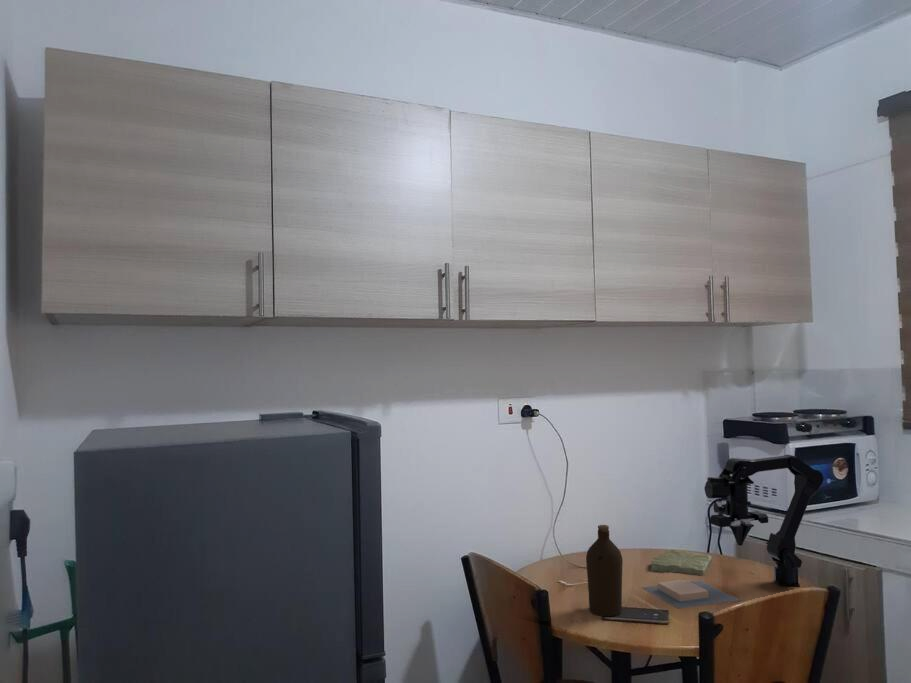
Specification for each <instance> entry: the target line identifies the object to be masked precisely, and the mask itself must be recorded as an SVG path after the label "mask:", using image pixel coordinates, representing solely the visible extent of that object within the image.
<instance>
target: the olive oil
mask: <svg viewBox="0 0 911 683" xmlns="http://www.w3.org/2000/svg"><path fill="white" fill-rule="evenodd" d="M609 529H610V527H609V525H606V524H599V525H598V526H597V539H596V540H595V541H594V542H593V543H592V544H591V545H590V546H589V548H588V549H587V552H586V556H585V562H586V563H585V564H586V574H587V575H586V576H587V590H588V607H589V608H588V609H589V612H591V614H594V615H597V616H601V617H614V616H615V615H616V616H618V614H619V615H620V614H621V613H622V612H621V611H622V610H623V609H622V608H623V607H622V606H623V602H622V601H623V594H622V593H623V561H624V560H623V556H622V553H621V551H620V549H619V547H618V546H617V545H616V544H615V543H614V542H613V541H612V540H611V539H610V530H609ZM616 616H615V617H616Z"/></svg>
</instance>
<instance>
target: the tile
mask: <svg viewBox="0 0 911 683" xmlns="http://www.w3.org/2000/svg"><path fill="white" fill-rule="evenodd" d="M691 582H692V581H689V580H688V579H687V580H686V579H685V578H684V579H678V580H669V581H660V582H659V581H658V582H657V586H658V590H659V591H660V592H662V593H664V594H666V595H668V596H669V597H671V598H673V599H675V600H677V601H678V602H680V603H681V602H688V601H696V600H704V599H709V596H708V591H707V590H705V589H703V588H701V587H699V586H697V585H695V584H693V583H691Z"/></svg>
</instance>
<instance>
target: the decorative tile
mask: <svg viewBox="0 0 911 683" xmlns="http://www.w3.org/2000/svg"><path fill="white" fill-rule="evenodd" d="M712 563H713V557H712V556H711V555H710V554H703V553H700V552H692V551H687V550H686V551H685V550H681V551H680V550H675V549H669V550H667V549H666V550H664V552H663V553H661V554H659V555H655V556H653V557H652V560H651V567H650V568H651V569H650V571H652V572H657V571H659V572H658V573H665V572H666V574H667V573H674V572H675V573H679V574H688V575H697V576H705V574H706V573H707V570H708V569H709V568H710V566H711V565H712Z"/></svg>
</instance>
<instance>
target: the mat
mask: <svg viewBox="0 0 911 683" xmlns="http://www.w3.org/2000/svg"><path fill="white" fill-rule="evenodd" d="M690 582H691V583H693V584H695V585H697V586H699V587H701V588H703V589H705V590H707V591H708V596H709V599H704V600H696V601H688V602H681V603H680V602H678V601H677V600H675V599H673V598H671V597H669V596H668V595H666V594H664V593H662V592H660V591H659V590H658V585H652V586H651V585H650V586H643V587H641V589H643V590H644V591H646V592H647V593H650V594H652V595H654V596H655V597H657V598H659V599H660V600H662V601H664V602H666V603H667V604H669V605H670V606H671V607H674V608H676V609H685V608H691V607H699V606H700V607H701V606H707V605H716V604H721V603H723V604H724V603H731V602H738V601H740V599H739V598H737V597H735V596H734V595H731V594H729V593H727V592H725V591H722V590H721V589H718V588H717V587H715V586H712V585H710V584H709V583H706V582H705V581H702V580H693V581H690Z"/></svg>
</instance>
